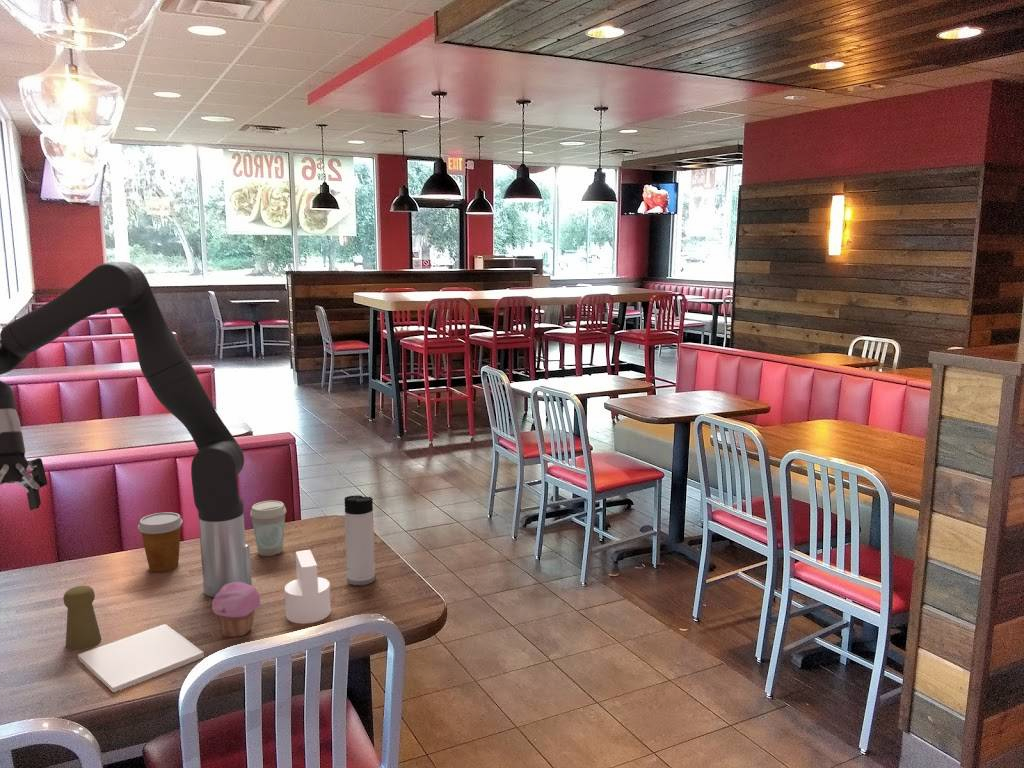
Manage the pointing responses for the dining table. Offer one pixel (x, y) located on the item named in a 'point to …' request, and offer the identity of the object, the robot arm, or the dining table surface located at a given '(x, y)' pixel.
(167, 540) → the disposable coffee cup
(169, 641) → the white mat
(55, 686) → the dining table surface
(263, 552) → the coffee cup
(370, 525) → the travel mug
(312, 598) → the cylinder with rectangular tab
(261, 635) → the dining table surface
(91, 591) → the cork
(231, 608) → the cupcake
